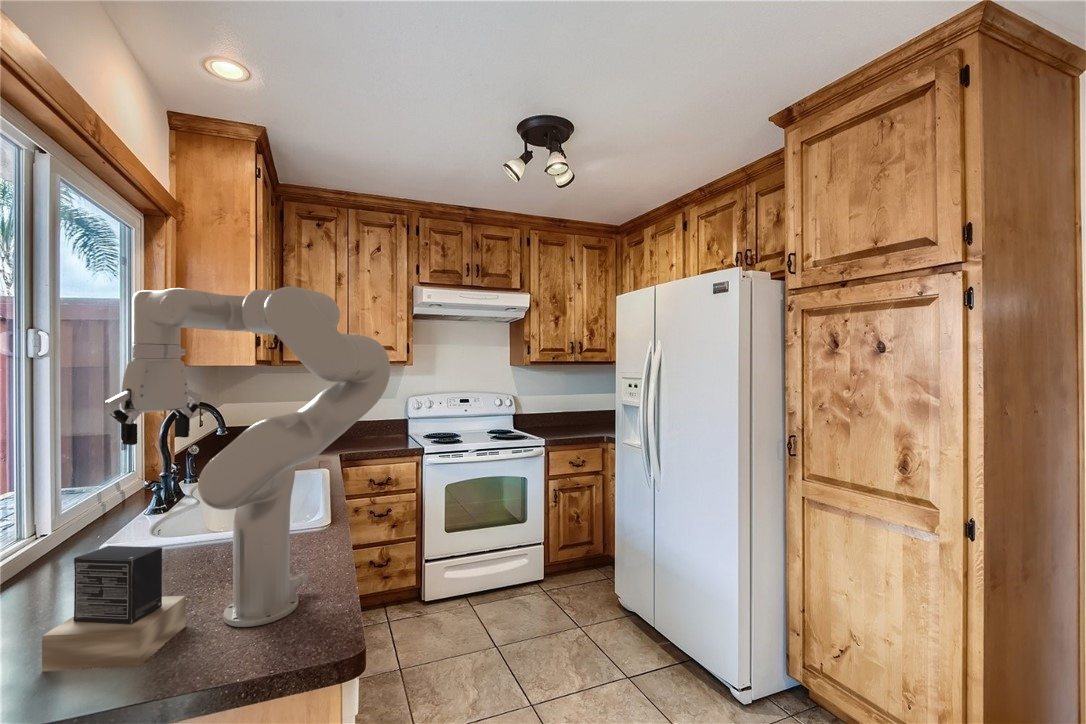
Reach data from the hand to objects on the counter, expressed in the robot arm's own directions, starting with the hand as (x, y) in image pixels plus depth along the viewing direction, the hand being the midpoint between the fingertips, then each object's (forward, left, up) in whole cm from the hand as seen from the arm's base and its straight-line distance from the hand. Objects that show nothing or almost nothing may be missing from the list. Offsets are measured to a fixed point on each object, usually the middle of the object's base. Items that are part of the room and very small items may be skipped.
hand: (157, 440), depth 99 cm
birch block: (+12, +10, -33) cm, 36 cm away
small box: (+12, +10, -27) cm, 31 cm away
